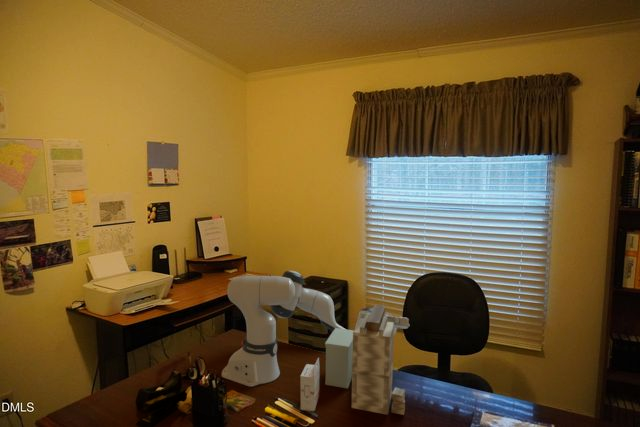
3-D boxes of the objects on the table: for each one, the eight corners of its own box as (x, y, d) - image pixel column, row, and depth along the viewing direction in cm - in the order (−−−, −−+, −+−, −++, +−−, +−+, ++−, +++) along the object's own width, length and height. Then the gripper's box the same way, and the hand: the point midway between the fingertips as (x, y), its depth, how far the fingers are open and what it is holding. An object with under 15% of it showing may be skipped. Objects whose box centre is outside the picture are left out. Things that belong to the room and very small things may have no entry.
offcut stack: (391, 412, 119) (391, 395, 118) (392, 403, 124) (393, 386, 123) (404, 415, 118) (405, 397, 117) (405, 406, 123) (406, 389, 122)
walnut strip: (366, 330, 121) (366, 321, 121) (374, 312, 138) (374, 304, 138) (378, 331, 120) (378, 323, 120) (385, 313, 137) (385, 305, 137)
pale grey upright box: (324, 384, 135) (325, 343, 134) (334, 365, 149) (335, 327, 148) (348, 389, 132) (348, 346, 131) (356, 369, 147) (357, 330, 145)
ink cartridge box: (305, 395, 128) (306, 355, 127) (319, 397, 127) (320, 356, 126) (299, 410, 120) (299, 367, 119) (314, 412, 119) (314, 368, 118)
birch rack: (351, 407, 121) (353, 326, 119) (358, 387, 134) (360, 313, 131) (387, 414, 118) (390, 331, 116) (391, 392, 130) (394, 316, 128)
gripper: (409, 333, 154) (408, 328, 142) (361, 327, 160) (356, 322, 148) (410, 318, 156) (409, 312, 144) (363, 313, 162) (358, 306, 150)
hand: (382, 317), depth 146 cm, fingers open, 8 cm apart
